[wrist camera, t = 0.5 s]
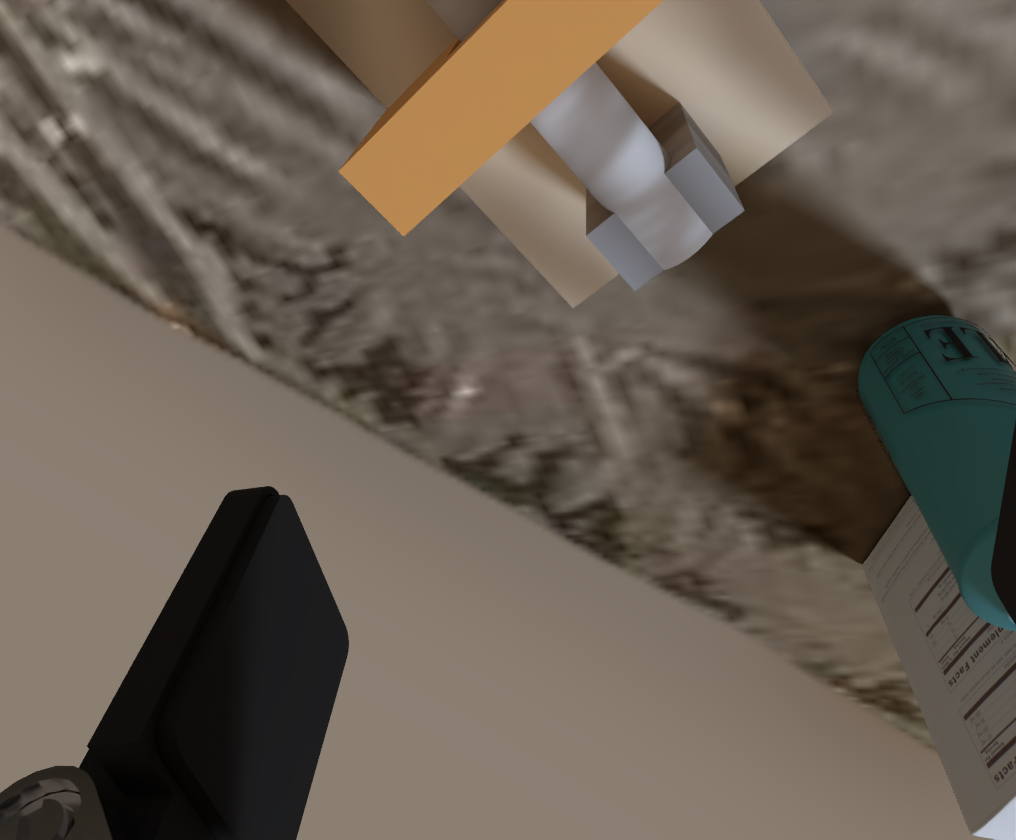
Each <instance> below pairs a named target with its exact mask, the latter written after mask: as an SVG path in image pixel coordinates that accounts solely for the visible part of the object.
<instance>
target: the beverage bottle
mask: <svg viewBox="0 0 1016 840" xmlns="http://www.w3.org/2000/svg"><path fill="white" fill-rule="evenodd" d="M962 320H963V319H958V318H953V317H949V316H941V315H931V316H923V317H918V318H914V319H910V320H908V321H905V322H903V323H900V324H898V325H896V326H895V327H893V328H891V329H890V330H888V331H887V332H885V333H884V334H883V335H881V336H880V337H879V338H878V339H877V340H876V341H875V342H874V343H873V344H872V345H871V346H870V348H869V349H868V351H867V352H866V354H865V356H864V357H863V360H862V362H861V365H860V368H859V375H858V389H859V391H858V392H859V394H860V397H861V400H862V402H863V404H864V406H865V408H866V410H867V412H868V414H869V416H870V417H869V416H868V415H867V416H868V417H869V418H871V419H872V421H873V423H874V425H875V427H876V429H877V431H878V433H879V435H880V437H881V439H882V440H883V442H884V444H885V446H886V448H887V450H888V452H889V454H890V457H889V455H888V457H889V458H892V460H893V462H894V463H895V465H896V467H897V469H898V471H899V473H900V475H901V477H902V479H903V481H904V483H905V484H906V486H907V488H908V490H909V491H910V493H911V495H912V496H913V498H914V500H915V501H916V503H917V504H916V505H917V506H918V507H919V509H920V511H921V513H922V515H923V517H924V519H925V521H926V523H927V525H928V527H929V529H930V531H931V533H932V535H933V537H934V539H935V541H936V542H937V544H938V546H939V548H940V550H941V552H942V554H943V556H944V558H945V560H946V562H947V564H948V566H949V568H950V570H951V572H952V574H953V576H954V578H955V580H956V581H957V583H958V589H959V591H960V594H961V596H962V598H963V600H964V602H965V603H966V605H967V606H968V607H969V608H970V609H971V611H972V612H974V613H975V614H976V615H977V616H979V617H980V618H981V619H983V620H985V621H986V622H988V623H990V624H993V625H995V626H998V627H1001V628H1004V629H1007V630H1011V631H1016V625H1015V623H1014V622H1013V620H1012V618H1011V617H1010V615H1009V613H1008V612H1007V610H1006V609H1005V607H1004V605H1003V604H1002V602H1001V600H1000V599H999V597H998V595H997V593H996V591H995V588H994V586H993V582H992V577H991V563H992V557H993V551H994V545H995V539H996V533H997V527H998V521H999V515H1000V509H1001V503H1002V497H1003V491H1004V485H1005V479H1006V474H1007V468H1008V462H1009V456H1010V450H1011V444H1012V438H1013V432H1014V426H1015V420H1016V372H1015V371H1014V370H1013V368H1012V367H1011V365H1010V364H1009V362H1008V361H1007V359H1006V360H1005V359H1004V358H1003V356H1002V354H1000V353H1001V352H1000V353H999V352H998V351H997V350H998V349H996V348H995V347H994V346H993V345H992V344H991V342H990V341H989V340H988V339H987V338H986V336H985V334H983V333H982V332H981V331H980V330H979V329H978V328H976V327H975V326H973V325H971V324H969V323H967V322H969V321H967V322H965V321H966V320H964V321H962ZM971 323H972V322H971ZM973 324H974V323H973ZM975 325H976V324H975ZM977 326H978V325H977ZM980 328H981V327H980ZM983 330H984V329H983ZM983 332H984V331H983ZM987 335H988V334H987ZM987 337H988V336H987ZM990 337H991V336H990ZM990 339H991V338H990ZM991 340H992V339H991ZM992 341H993V340H992ZM993 342H994V341H993ZM994 343H995V342H994ZM995 345H996V347H998V348H999V350H1000V351H1002V350H1001V348H1000V347H999V346H998V345H997V344H996V343H995ZM1002 352H1003V351H1002ZM1003 354H1004V356H1006V357H1007V358H1008V359H1009V357H1008V356H1007V355H1006V354H1005V353H1004V352H1003ZM1006 357H1005V358H1006ZM1009 360H1010V359H1009ZM1010 361H1011V360H1010ZM1011 362H1012V361H1011ZM1012 363H1013V362H1012ZM1013 364H1014V363H1013ZM1014 365H1015V364H1014ZM858 389H856V392H857V390H858ZM857 397H858V396H857ZM861 400H860V401H861ZM862 407H863V406H862ZM866 410H864V409H863V411H865V412H866ZM865 415H866V414H865ZM868 421H869V420H868ZM869 423H870V421H869ZM871 424H872V423H871ZM872 425H873V424H872ZM873 428H874V426H873ZM874 429H875V428H874ZM874 431H875V433H877V432H876V430H874ZM877 435H878V434H877ZM877 435H876V437H877ZM878 437H879V436H878ZM877 439H878V438H877ZM879 439H880V438H879ZM879 439H878V441H880V442H881V440H879ZM881 447H882V445H881ZM883 450H884V449H883ZM885 452H886V450H885ZM885 454H886V453H885ZM890 460H891V459H890ZM891 462H892V461H891ZM890 464H891V463H890ZM892 465H893V463H892ZM893 466H894V465H893ZM893 468H895V467H893ZM895 470H896V469H895ZM895 470H894V471H895ZM896 472H897V471H896ZM897 474H898V473H897ZM897 478H898V477H897ZM902 487H903V486H902ZM904 487H905V486H904ZM905 489H906V488H905ZM905 489H904V490H905ZM906 491H907V490H906ZM906 493H908V492H906ZM908 495H909V494H908ZM909 497H910V496H909ZM910 498H911V497H910ZM911 499H912V498H911Z"/></svg>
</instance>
